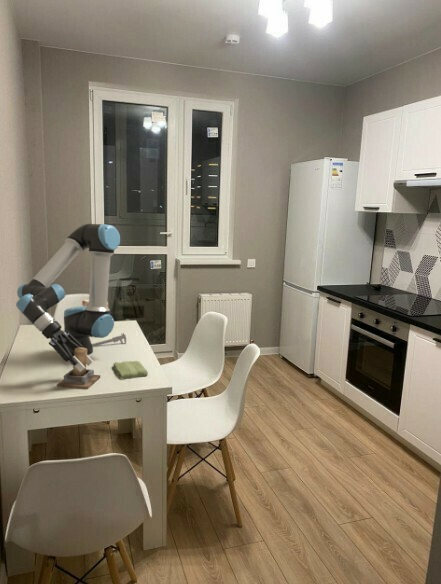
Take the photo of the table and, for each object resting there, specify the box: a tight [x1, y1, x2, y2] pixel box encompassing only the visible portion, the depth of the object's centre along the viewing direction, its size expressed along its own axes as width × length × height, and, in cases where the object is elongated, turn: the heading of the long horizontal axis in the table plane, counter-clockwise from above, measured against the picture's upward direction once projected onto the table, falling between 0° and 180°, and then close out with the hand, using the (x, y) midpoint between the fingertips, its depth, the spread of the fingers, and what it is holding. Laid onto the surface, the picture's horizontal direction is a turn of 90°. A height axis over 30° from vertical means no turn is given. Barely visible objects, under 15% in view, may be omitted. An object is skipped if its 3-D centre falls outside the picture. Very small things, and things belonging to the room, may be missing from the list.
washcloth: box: [112, 360, 149, 380], centre depth 194 cm, size 13×18×3 cm
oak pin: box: [72, 347, 87, 376], centre depth 178 cm, size 5×5×13 cm
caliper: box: [92, 332, 127, 348], centre depth 231 cm, size 20×1×6 cm, turn 115°
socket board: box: [56, 368, 101, 390], centre depth 179 cm, size 13×13×4 cm
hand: (86, 366), depth 178 cm, fingers open, 7 cm apart
